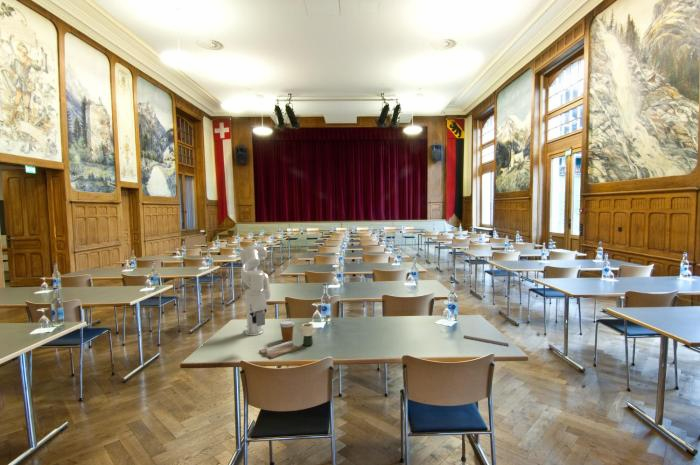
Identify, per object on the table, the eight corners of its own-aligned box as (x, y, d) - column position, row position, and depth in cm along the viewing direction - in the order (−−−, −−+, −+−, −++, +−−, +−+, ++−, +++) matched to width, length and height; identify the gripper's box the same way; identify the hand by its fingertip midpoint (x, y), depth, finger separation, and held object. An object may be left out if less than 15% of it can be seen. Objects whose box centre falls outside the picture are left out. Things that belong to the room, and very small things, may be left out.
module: (252, 323, 227) (251, 311, 227) (259, 322, 230) (258, 309, 230) (257, 326, 222) (257, 313, 221) (265, 324, 225) (264, 311, 225)
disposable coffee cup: (297, 338, 244) (296, 320, 243) (289, 343, 235) (289, 325, 234) (285, 336, 248) (284, 319, 247) (277, 341, 239) (276, 323, 238)
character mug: (317, 343, 235) (317, 323, 234) (315, 347, 228) (314, 326, 227) (301, 342, 236) (300, 322, 235) (298, 346, 229) (297, 326, 228)
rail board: (259, 352, 221) (259, 347, 221) (286, 343, 235) (286, 338, 235) (271, 358, 211) (271, 353, 211) (299, 349, 225) (299, 344, 225)
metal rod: (464, 337, 241) (464, 334, 241) (508, 345, 225) (508, 342, 225) (463, 338, 239) (463, 335, 239) (507, 346, 224) (507, 343, 224)
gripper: (266, 289, 233) (267, 317, 235) (241, 294, 222) (242, 323, 223) (272, 291, 228) (273, 319, 229) (247, 296, 216) (248, 326, 218)
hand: (258, 321), depth 226 cm, fingers closed on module, 5 cm apart
